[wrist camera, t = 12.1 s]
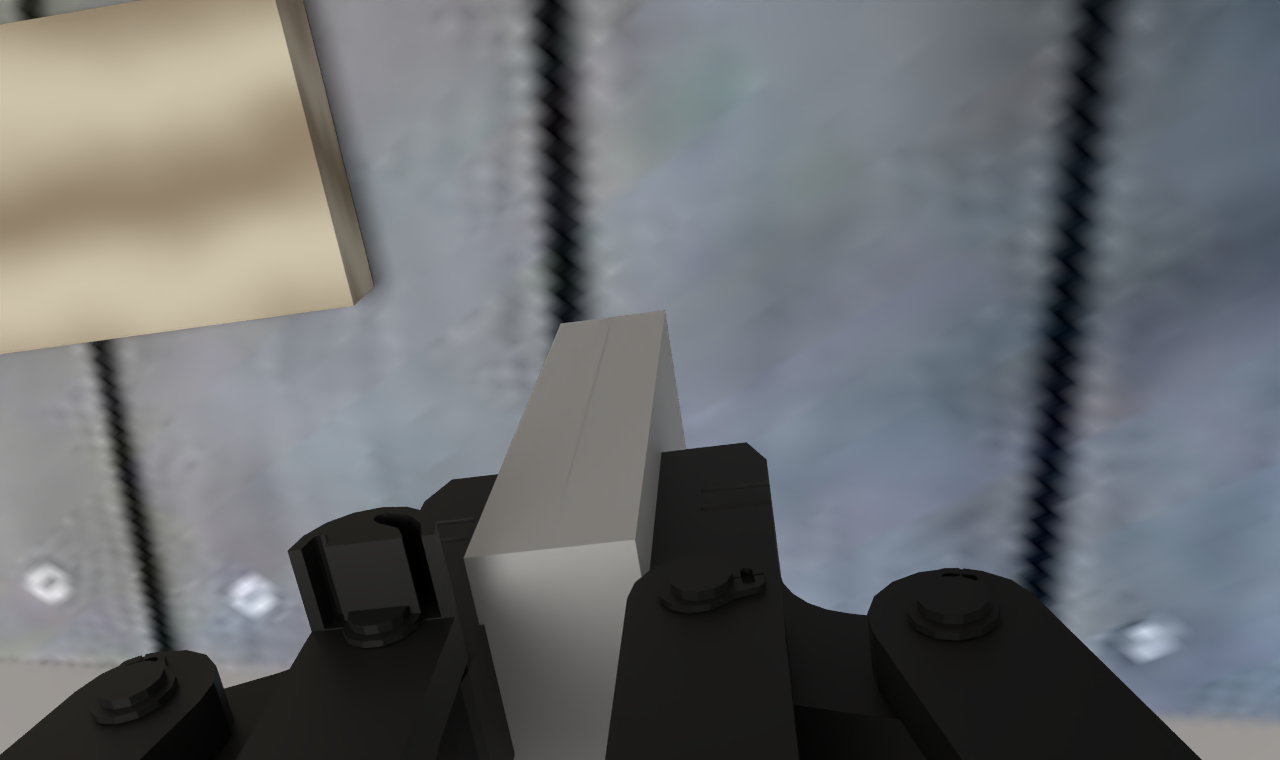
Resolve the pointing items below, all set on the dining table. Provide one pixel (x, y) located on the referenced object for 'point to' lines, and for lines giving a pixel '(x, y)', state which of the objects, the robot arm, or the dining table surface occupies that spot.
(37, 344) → the board
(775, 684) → the robot arm
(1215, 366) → the dining table surface
